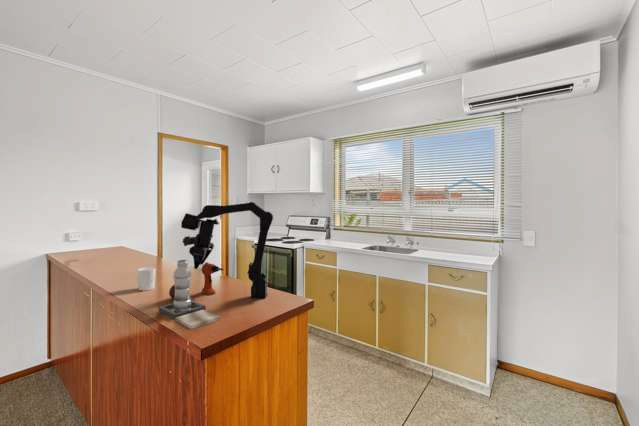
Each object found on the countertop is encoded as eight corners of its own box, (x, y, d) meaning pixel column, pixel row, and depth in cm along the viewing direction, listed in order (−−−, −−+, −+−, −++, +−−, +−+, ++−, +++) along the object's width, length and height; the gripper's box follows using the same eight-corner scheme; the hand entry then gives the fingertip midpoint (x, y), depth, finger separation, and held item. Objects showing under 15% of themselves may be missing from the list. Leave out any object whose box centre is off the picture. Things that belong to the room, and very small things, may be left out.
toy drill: (219, 298, 130) (217, 263, 131) (199, 294, 143) (198, 262, 144) (229, 295, 133) (227, 262, 134) (209, 292, 146) (207, 261, 147)
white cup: (158, 288, 148) (158, 268, 148) (142, 292, 141) (142, 271, 141) (150, 285, 152) (150, 266, 152) (134, 289, 146) (134, 269, 145)
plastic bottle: (179, 315, 113) (180, 263, 112) (169, 312, 116) (169, 261, 116) (194, 310, 118) (195, 260, 117) (184, 307, 122) (184, 258, 121)
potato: (181, 295, 137) (181, 278, 137) (195, 301, 130) (195, 282, 130) (164, 299, 131) (164, 281, 131) (178, 305, 124) (178, 286, 124)
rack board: (203, 312, 116) (203, 309, 116) (219, 319, 109) (219, 316, 109) (175, 320, 108) (175, 317, 108) (191, 329, 101) (191, 325, 101)
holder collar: (189, 304, 126) (189, 299, 126) (205, 310, 118) (205, 305, 118) (158, 312, 116) (158, 306, 116) (174, 320, 108) (174, 314, 108)
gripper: (193, 227, 142) (186, 259, 142) (180, 230, 123) (172, 267, 123) (217, 232, 143) (210, 263, 143) (207, 236, 125) (200, 272, 125)
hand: (198, 266), depth 134 cm, fingers open, 9 cm apart
